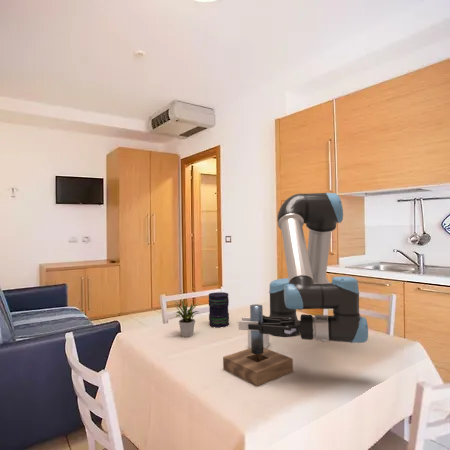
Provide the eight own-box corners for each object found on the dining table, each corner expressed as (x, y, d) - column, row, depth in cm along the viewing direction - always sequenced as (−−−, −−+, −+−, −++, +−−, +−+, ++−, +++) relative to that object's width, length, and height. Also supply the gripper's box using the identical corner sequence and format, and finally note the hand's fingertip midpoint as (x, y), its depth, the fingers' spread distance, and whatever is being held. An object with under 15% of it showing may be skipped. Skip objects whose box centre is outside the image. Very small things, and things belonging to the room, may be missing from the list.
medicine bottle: (269, 343, 132) (268, 313, 132) (266, 349, 125) (265, 318, 125) (252, 342, 134) (251, 312, 134) (247, 348, 127) (247, 317, 128)
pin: (248, 351, 107) (247, 305, 108) (257, 349, 110) (256, 303, 110) (257, 355, 104) (256, 307, 104) (266, 352, 107) (264, 305, 107)
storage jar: (217, 321, 167) (216, 291, 167) (233, 323, 161) (232, 293, 161) (204, 325, 159) (204, 294, 159) (221, 329, 153) (220, 296, 153)
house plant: (161, 338, 142) (160, 300, 142) (178, 329, 155) (177, 294, 155) (191, 341, 136) (190, 302, 137) (205, 331, 149) (204, 295, 150)
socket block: (223, 369, 108) (223, 356, 109) (258, 356, 118) (258, 345, 118) (256, 386, 96) (256, 372, 96) (293, 371, 106) (292, 358, 106)
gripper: (313, 348, 94) (234, 343, 100) (314, 331, 110) (246, 327, 117) (312, 322, 94) (233, 318, 101) (313, 309, 110) (245, 306, 117)
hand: (240, 323), depth 109 cm, fingers closed on pin, 4 cm apart
